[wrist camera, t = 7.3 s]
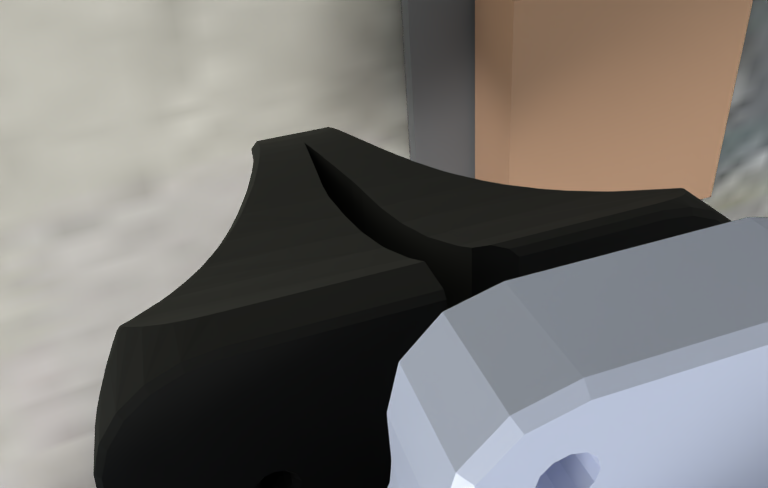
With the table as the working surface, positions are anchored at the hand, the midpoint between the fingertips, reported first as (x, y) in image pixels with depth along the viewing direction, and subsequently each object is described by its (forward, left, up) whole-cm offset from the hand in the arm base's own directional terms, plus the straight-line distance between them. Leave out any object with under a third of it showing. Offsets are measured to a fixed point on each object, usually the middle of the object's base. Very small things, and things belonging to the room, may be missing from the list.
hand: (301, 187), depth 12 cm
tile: (0, -4, -1) cm, 4 cm away
